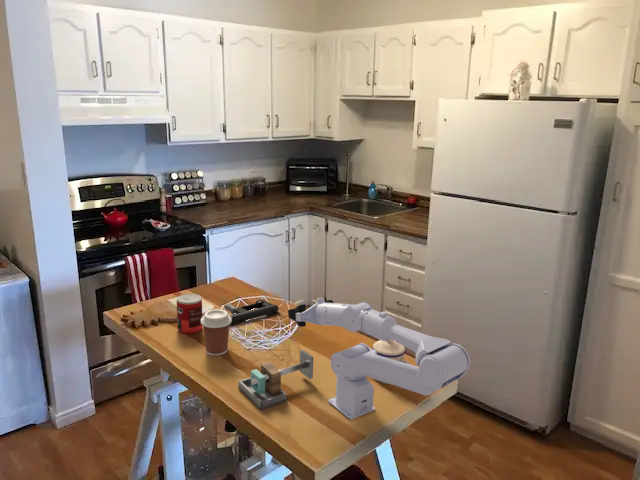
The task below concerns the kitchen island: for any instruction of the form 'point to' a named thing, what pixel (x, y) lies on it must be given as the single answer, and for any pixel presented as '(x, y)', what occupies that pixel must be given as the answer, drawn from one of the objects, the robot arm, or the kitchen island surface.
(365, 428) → the kitchen island surface
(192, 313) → the canned food
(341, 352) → the robot arm
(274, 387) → the bearing block
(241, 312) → the door handle
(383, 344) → the teacup with lid
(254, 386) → the block
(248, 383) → the tray
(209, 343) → the coffee cup
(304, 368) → the shaft
